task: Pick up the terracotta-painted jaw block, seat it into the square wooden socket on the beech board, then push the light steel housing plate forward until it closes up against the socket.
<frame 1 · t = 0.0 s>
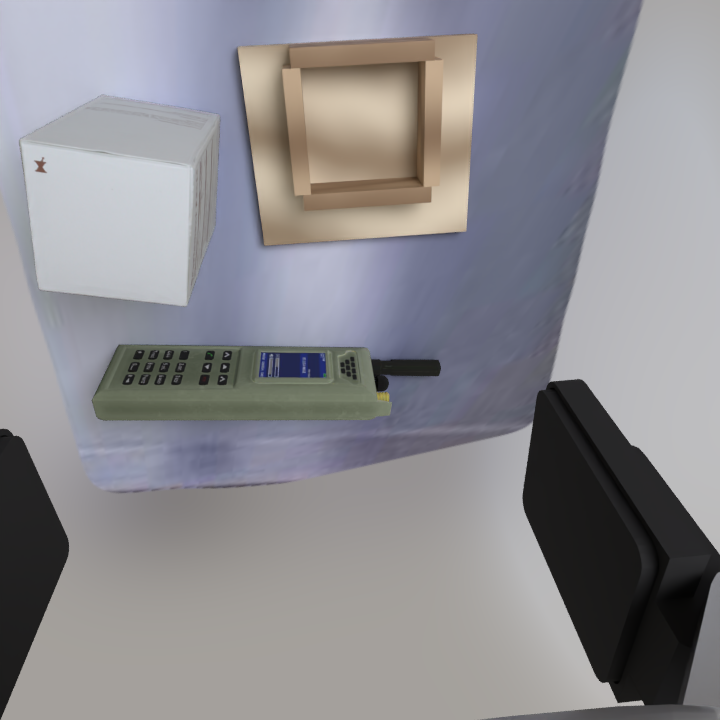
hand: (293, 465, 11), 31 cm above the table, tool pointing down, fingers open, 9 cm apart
handheld radio: (282, 356, 47), on the table
socket board: (360, 120, 37), on the table
supplement box: (163, 163, 38), on the table
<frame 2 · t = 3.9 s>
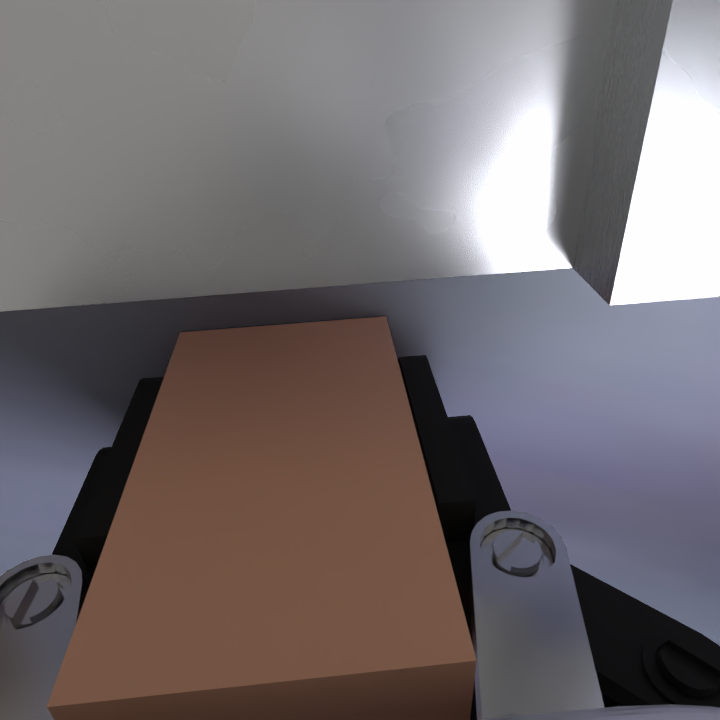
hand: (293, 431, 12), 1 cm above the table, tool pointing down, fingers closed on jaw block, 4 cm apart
jaw block: (294, 406, 12), on the table, touching gripper
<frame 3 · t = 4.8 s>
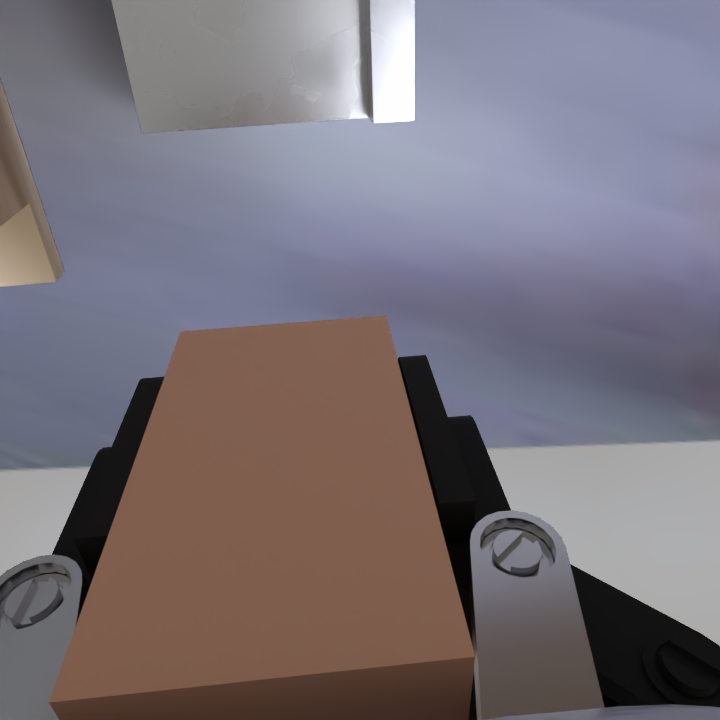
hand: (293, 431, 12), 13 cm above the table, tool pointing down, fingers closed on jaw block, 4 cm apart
jaw block: (294, 405, 12), point 12 cm above the table, touching gripper
when the fingers open (4 cm above the table, at t = 9.3 s): jaw block drops 2 cm, resting on socket board.
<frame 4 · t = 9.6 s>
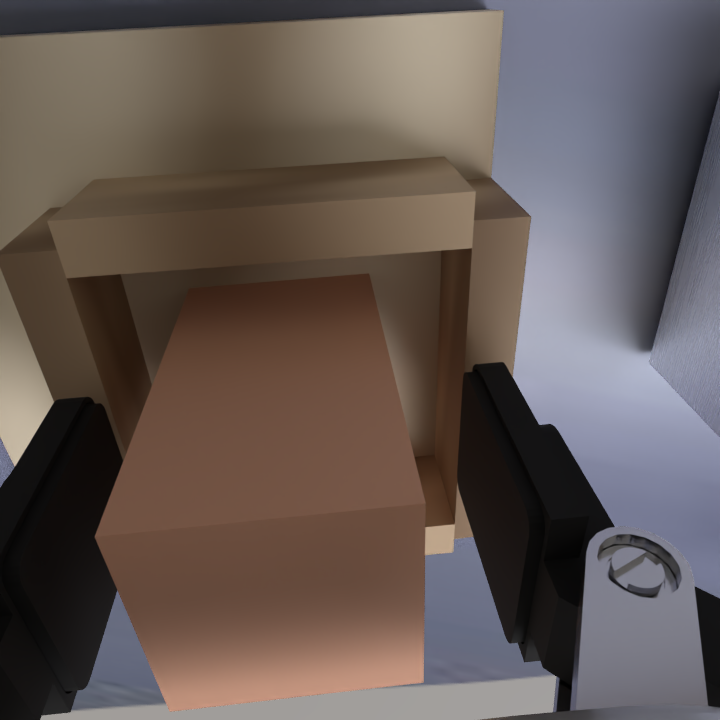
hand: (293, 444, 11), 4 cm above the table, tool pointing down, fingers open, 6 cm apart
socket board: (295, 337, 15), on the table
jaw block: (290, 356, 14), point 1 cm above the table, touching socket board
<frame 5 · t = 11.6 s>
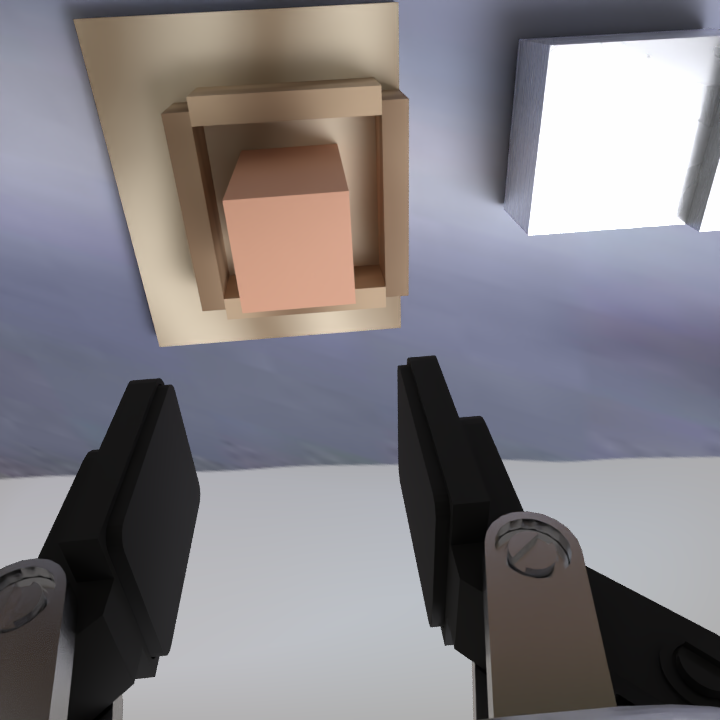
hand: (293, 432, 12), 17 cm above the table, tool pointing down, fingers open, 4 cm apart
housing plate: (623, 135, 24), point 3 cm above the table, slide at 0.0 cm
socket board: (297, 189, 26), on the table
jaw block: (294, 194, 25), point 1 cm above the table, touching socket board
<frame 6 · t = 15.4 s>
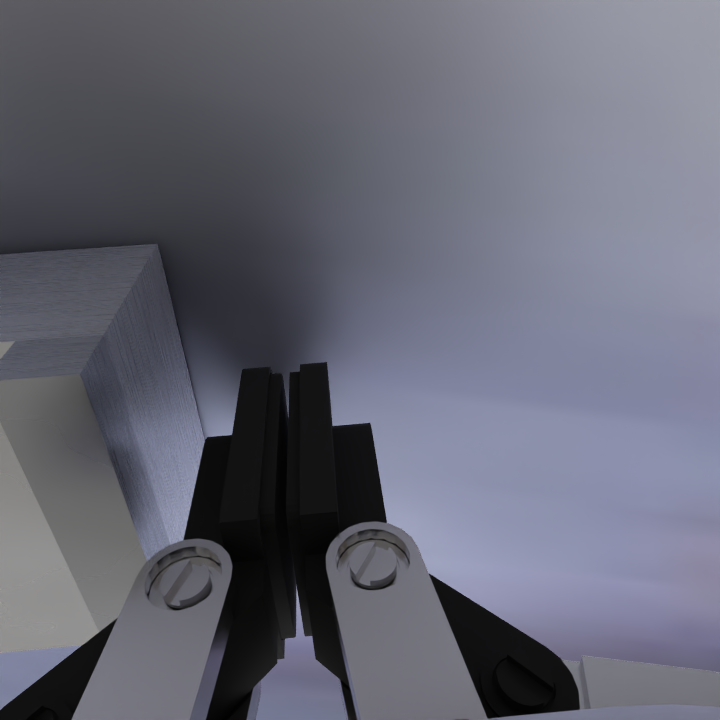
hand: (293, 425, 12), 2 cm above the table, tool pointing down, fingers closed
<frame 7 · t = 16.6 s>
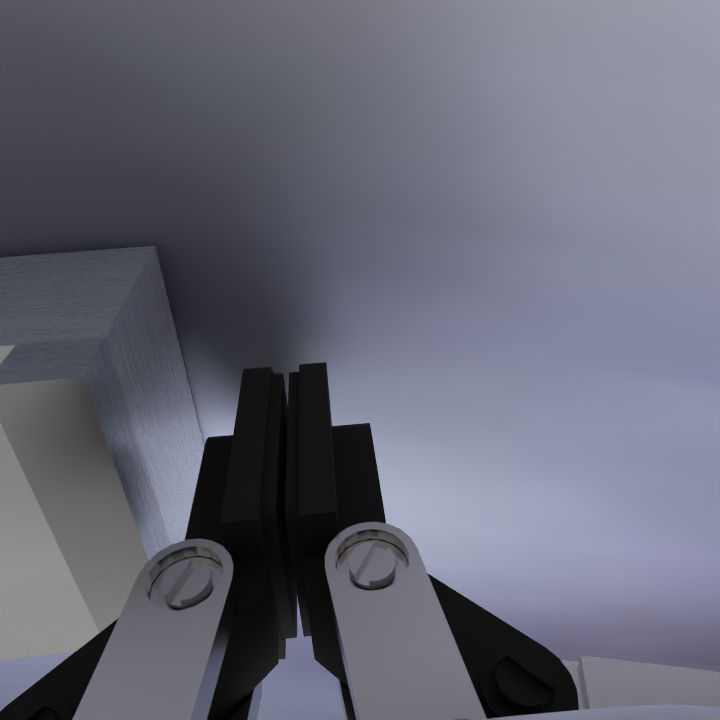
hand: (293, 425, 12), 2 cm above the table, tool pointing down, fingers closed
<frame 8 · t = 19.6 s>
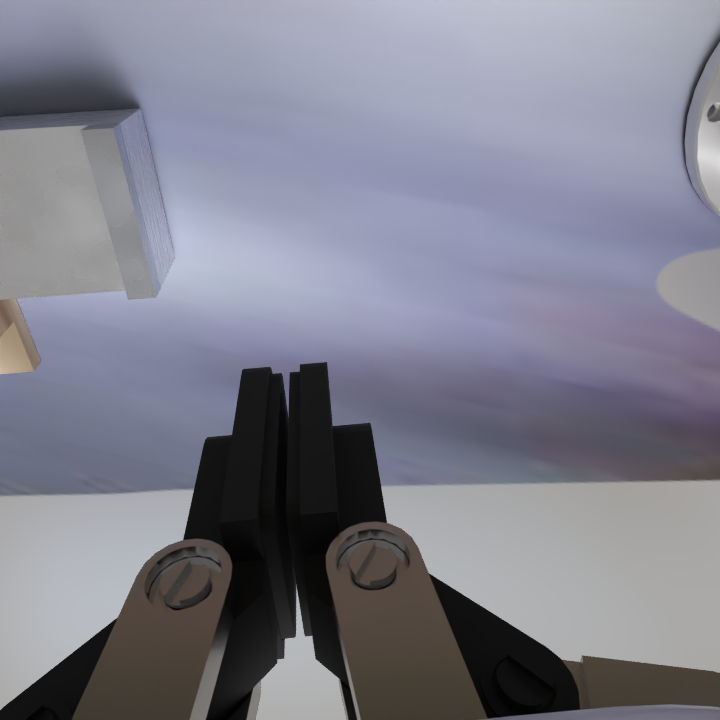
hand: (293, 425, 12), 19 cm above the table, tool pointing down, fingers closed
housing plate: (55, 209, 25), point 3 cm above the table, slide at 4.5 cm
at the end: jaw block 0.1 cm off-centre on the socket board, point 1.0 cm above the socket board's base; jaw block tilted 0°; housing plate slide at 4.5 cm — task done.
